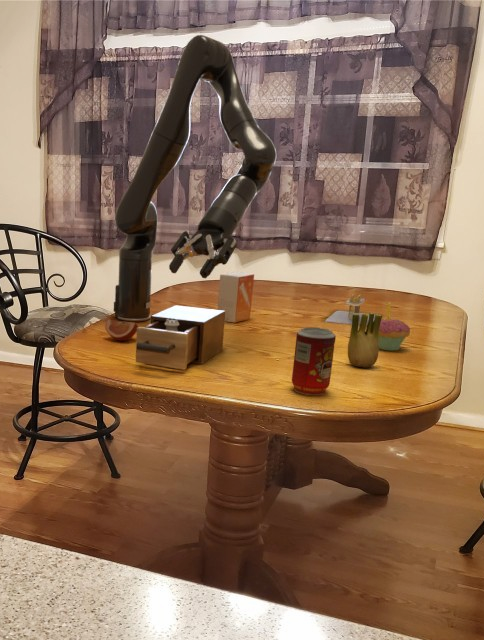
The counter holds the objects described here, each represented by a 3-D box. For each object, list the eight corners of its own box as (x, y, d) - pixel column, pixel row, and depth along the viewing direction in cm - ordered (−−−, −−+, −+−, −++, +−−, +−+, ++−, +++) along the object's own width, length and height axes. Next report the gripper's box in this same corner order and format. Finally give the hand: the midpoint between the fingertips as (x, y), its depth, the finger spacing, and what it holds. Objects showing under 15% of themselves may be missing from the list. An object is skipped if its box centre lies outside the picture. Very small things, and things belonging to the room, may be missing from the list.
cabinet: (201, 364, 152) (204, 322, 149) (149, 356, 158) (150, 315, 155) (222, 350, 164) (225, 310, 161) (173, 343, 170) (175, 305, 167)
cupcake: (390, 354, 161) (398, 303, 157) (360, 346, 168) (367, 297, 164) (414, 350, 165) (423, 300, 161) (384, 342, 172) (391, 294, 168)
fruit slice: (100, 339, 174) (100, 320, 172) (114, 334, 179) (115, 315, 177) (128, 344, 169) (129, 324, 167) (142, 339, 174) (143, 320, 172)
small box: (235, 323, 192) (239, 276, 188) (216, 319, 196) (219, 274, 192) (250, 319, 197) (254, 273, 193) (231, 315, 201) (235, 271, 197)
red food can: (317, 399, 130) (325, 336, 126) (283, 390, 135) (290, 329, 131) (335, 391, 134) (343, 330, 131) (302, 383, 139) (308, 324, 136)
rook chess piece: (182, 353, 154) (184, 318, 151) (178, 358, 150) (180, 322, 147) (162, 351, 155) (164, 316, 153) (158, 356, 151) (160, 320, 149)
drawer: (175, 375, 141) (177, 338, 139) (126, 367, 147) (127, 332, 144) (206, 355, 156) (208, 321, 154) (160, 348, 162) (161, 316, 159)
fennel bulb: (343, 365, 152) (350, 312, 148) (352, 361, 155) (359, 309, 151) (370, 371, 148) (378, 316, 144) (378, 366, 151) (386, 312, 148)
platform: (324, 321, 194) (327, 298, 192) (337, 310, 209) (340, 289, 207) (369, 326, 188) (373, 302, 186) (379, 314, 203) (382, 292, 201)
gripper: (191, 203, 156) (154, 258, 152) (243, 207, 146) (206, 266, 142) (204, 226, 161) (169, 280, 157) (256, 231, 151) (219, 288, 147)
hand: (186, 273), depth 150 cm, fingers open, 8 cm apart
